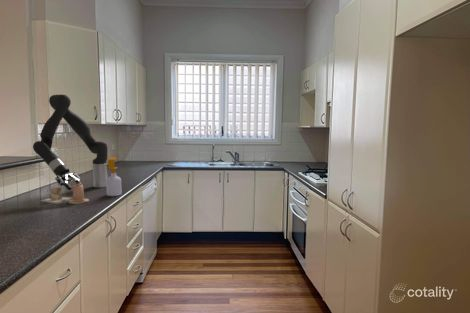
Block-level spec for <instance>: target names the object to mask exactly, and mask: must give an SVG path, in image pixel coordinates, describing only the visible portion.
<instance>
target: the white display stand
mask: <svg viewBox="0 0 470 313" xmlns="http://www.w3.org/2000/svg"><path fill="white" fill-rule="evenodd" d="M62 192H63V189H62V186H54V187H53V186H52V187H50V197H48V198H45V199H42V200H39V203H43V204H55V205H58V204H62V203H65V202H67V201H70V200H73V196H72V197H71V196H70V197H69V196H63V193H62Z"/></svg>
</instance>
